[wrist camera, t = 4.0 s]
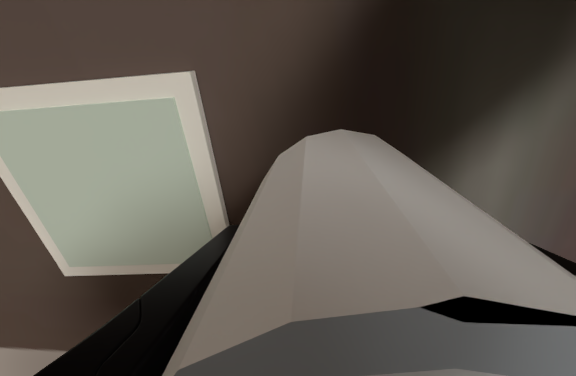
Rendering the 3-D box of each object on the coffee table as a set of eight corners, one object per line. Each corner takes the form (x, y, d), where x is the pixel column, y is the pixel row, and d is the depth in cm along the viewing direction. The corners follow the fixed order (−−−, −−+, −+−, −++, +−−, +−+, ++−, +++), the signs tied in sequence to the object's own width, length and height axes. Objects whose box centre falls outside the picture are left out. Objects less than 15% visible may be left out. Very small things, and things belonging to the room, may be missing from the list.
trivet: (194, 70, 12) (188, 72, 12) (238, 264, 18) (235, 273, 17) (-40, 91, 13) (-59, 93, 12) (71, 269, 19) (62, 278, 18)
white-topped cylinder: (480, 154, 8) (960, 443, 2) (374, 292, 12) (457, 571, 5) (278, 73, 8) (183, 186, 1) (222, 245, 11) (116, 515, 5)
